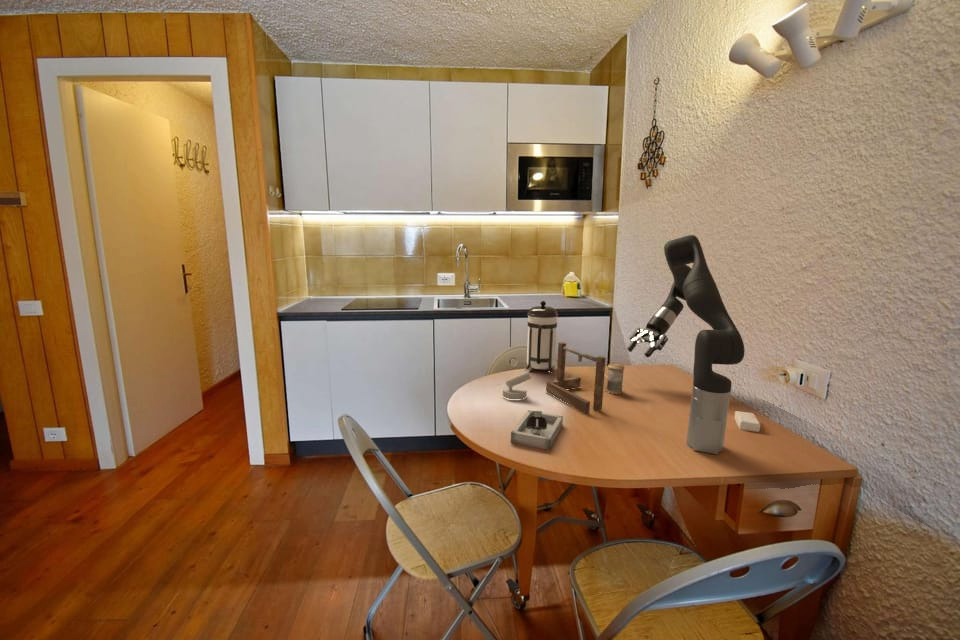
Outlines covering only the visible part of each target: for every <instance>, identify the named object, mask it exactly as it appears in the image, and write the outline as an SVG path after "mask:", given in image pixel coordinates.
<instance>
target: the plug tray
mask: <svg viewBox="0 0 960 640" xmlns="http://www.w3.org/2000/svg"><path fill="white" fill-rule="evenodd" d="M532 411H533V410H527V411H526V413H525V414H524V415H523V416H522V418H520V419H519V422H518V423H517V424H516V425H515V427H514V428H513V429H512V431H510V443H514V444H519V445H523V446H529V447H532V448H533V447H534V448H539V449H543V450H544V449H545V450H550V448H551V447H552V445H553V444H554V441H555V439H556V438H557V436H558V434H559V432H560V430H561V429H562V427H563V420H564V419H563V417H564V416H563V415H558V414H553V413H546V412H542V414H541V416H542V417H543V418H545V419H546V422H547V429H545V430H543V432H542V436H540V430H537V429H535V430H534V433H533V434H531V429H528V428H527V420H528V418H529V417H532V416H533V414H532Z"/></svg>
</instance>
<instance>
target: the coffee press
mask: <svg viewBox="0 0 960 640" xmlns="http://www.w3.org/2000/svg"><path fill="white" fill-rule="evenodd" d="M546 305H547V303H546V301H545V300H541V302H540V306H539V305H538V306H537V305H536V306H532V307H530V309H529V311H527V317H528V318H527V346H526V350H527V351H526V364H527V367H526V368H525V370H526V369H528V370H529V369H531V370H533V369H535V370H546V371H547V372H548V371H550V374H552V373H551V372H554V370H553V369H552V368H554V367H555V362H556V343H557V342H556V340H557V328H558V316H559V313H558V312H557V309H555V308H554V307H551V306H546Z"/></svg>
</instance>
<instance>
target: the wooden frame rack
mask: <svg viewBox="0 0 960 640" xmlns="http://www.w3.org/2000/svg"><path fill="white" fill-rule="evenodd" d="M557 343H558V345H557V347H558V348H557V365H556V380H551V381H546V382H545V384H546V385H545V387H546V388H545V392H546V391H547V392H548V393H550V394H552V395H554V396H555V397H557V398H559V399H561V400H562V401H564V402H566V403H568V404H569V405H568V404H567V405H568V406H570V405H571V406H570V407H572V406H573V407H574V409H575V408H576V409H575V410H577V409H578V410H577V411H579V412H581V413H582V412H583V413H582V414H584V413H585V415H588V414H587V413H589V414H590V406H591V402H590V401H589V400H587V399H585V398H584V397H582V396H579V395H577V394H575V393H574V392H571V390H566V389H572V388H577V389H579V388H578V387H580V388H581V377H580V376H574V377H567V378H565V372H566V357H567V356H566V355H567V354H566V353H567V352H569V353H572V354H574V355H577V356H578V358H577V360H578V361H577V362H579V363H581V362H583V359H584V358H585V359H587V360H589V361H591V362H595V376H594V389H593V390H594V393H593V403H592V404H593V407H592V410H593V409H594V410H595V411H594V410H593V411H594V412H596V411H599V412H601V410H603V399H604V398H603V397H604V385H605V383H604V382H605V372H606V371H605V370H606V360H607V358H606V357H605V356H601V355H600V356H593V355H591V354H587V353H586V352H585V353H584V352H582V351H579V350H577V349H573V348H571V347H569V346H567V342H563V341H561V342H557ZM572 390H573V389H572ZM548 393H547V394H548ZM550 394H549V395H550ZM552 395H551V396H552ZM555 397H554V398H555ZM557 398H556V399H557ZM559 399H558V400H559ZM561 400H560V401H561ZM562 401H561V402H562ZM564 402H563V403H564ZM566 403H565V404H566ZM573 407H572V408H573Z"/></svg>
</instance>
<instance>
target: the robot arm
mask: <svg viewBox="0 0 960 640" xmlns="http://www.w3.org/2000/svg"><path fill="white" fill-rule="evenodd" d="M663 251H664V257H665V260H666V263H667V264H668V265H667V266H668V268H669V270H670V272H671V274H672V277H673V283H672V285H671V288H670V290H669V294H668V296H667V297H666V299H665V301H664V302H663V304H662V305H661V306H660V308H659V309H657V311H655V313H654V314H653V315H652V317H651V318H650V319H649V321H648V322H647V323H646V326H645V328H644V329H642V328H640V327H637V328H636V329H635V330H634V331H633V332H632V333H631V335H630V336H629V337H628V338H629V340H630V341H631V342H630V343H629V344H628V345H627V348H626V349H627V350H628V352H629V353H631V352H632V351H633V350H634V349H635V347H636V346H637V345H638V344H641V343H648V344H650V346H649V347H648V348H647V350H646V351H645V352H644V356H645V357H646V358H649V357H651V356H652V355H653V354H654V352H655V351H662V349H663V348H664V346H665V345H666V343H667V342H668V340H669V338H668V336H667V335H666V333H667V332H668V330H669V329H670V328H671V326H672V325H673V324H674V322H675V321H676V319H678V317H679V315H680V314H681V312H682V311H683V309H684V304H683V303H682V302H681V300H683V301H685V303H686V304H687V307H688V308H689V310H690V311H691V312H693V314H694V315H696V316H697V317H698V318H700V319H701V320H702V321H703V322H704V323H706V324H708V325H709V327H711V328H712V329H702V330H700V331H699V332H698V333H697V335H696V338H695V343H694V355H693V356H694V360H693V372H692V373H693V376H692V377H693V382H692V383H693V384H692V389H691V390H692V391H691V399H690V406H689V414H688V415H689V416H688V424H687V425H688V426H687V432H686V433H687V435H686V444H687V445H688V446H689V448H692V450H693V451H697V452H702V453H707V454H713V455H719V454H720V453H721V452H723V450H724V443H725V435H726V428H727V422H728V421H727V420H728V414H729V413H728V412H729V407H730V406H729V405H730V399H731V394H732V393H731V390H732V381H731V379H730V378H729V377H727V376H726V375H723V374H720V373H718V372H715V371H714V370H713V365H724V366H725V365H726V366H727V365H728V366H729V365H730V366H733V365H738V364H740V363H741V362H742V361H743V360H744V357H745V345H744V341H743V338H742V336H741V334H740V331H739V329H738V328H737V326H736V325H735V323H734V322H733V320H732V317H731V316H730V315H729V314H730V313H729V312H728V311H727V308H726V306H725V303H724V302H723V299H722V296H721V294H720V291H719V289H718V286H717V284H716V281H715V279H714V277H713V274H712V273H711V271H710V268H709V267H708V263H707V259H706V257H705V253H704V249H703V247H702V245H701V241H700V240H699V238H698V237H697V236H696V235H694V234H693V235H692V234H690V235H689V234H688V235H685V236H681V237H677V238H675V239H672V240H668V241H666V243H665V244H664V247H663ZM689 264H692V266H689ZM678 298H679V299H681V300H679V299H678Z"/></svg>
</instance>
